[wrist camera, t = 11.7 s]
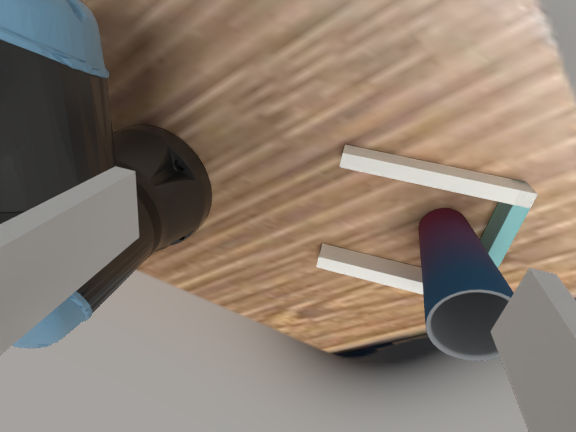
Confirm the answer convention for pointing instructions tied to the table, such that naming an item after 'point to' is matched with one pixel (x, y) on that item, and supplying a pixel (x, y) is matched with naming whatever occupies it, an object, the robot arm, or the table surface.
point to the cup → (459, 287)
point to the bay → (507, 192)
